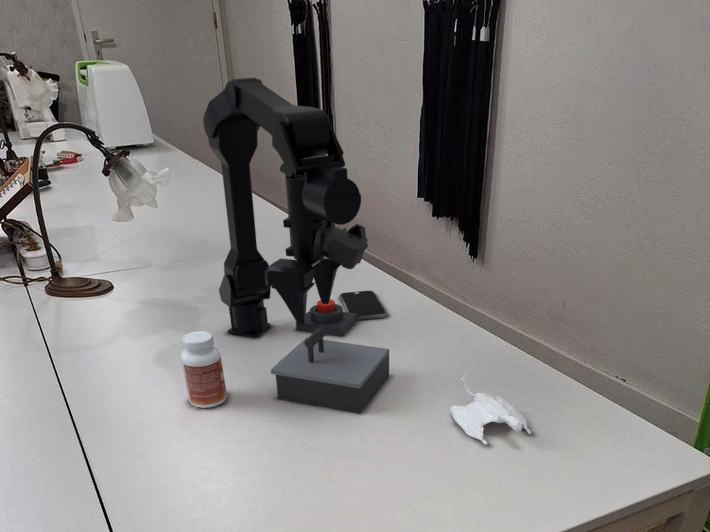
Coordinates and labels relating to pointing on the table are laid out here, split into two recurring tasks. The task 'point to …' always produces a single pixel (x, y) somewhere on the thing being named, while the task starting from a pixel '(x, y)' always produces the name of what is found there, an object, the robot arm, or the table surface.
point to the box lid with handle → (331, 361)
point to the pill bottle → (203, 370)
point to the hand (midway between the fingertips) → (313, 313)
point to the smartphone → (363, 304)
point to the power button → (326, 307)
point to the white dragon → (486, 414)
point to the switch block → (328, 321)
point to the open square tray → (333, 391)
